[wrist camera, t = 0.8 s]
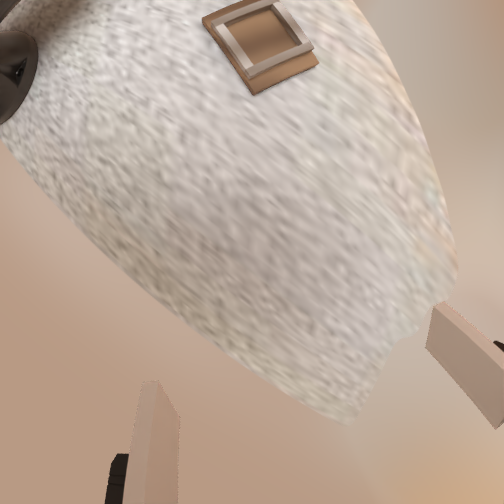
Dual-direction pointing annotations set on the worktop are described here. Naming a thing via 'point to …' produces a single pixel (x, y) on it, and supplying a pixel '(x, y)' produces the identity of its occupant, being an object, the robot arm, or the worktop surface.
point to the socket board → (261, 42)
